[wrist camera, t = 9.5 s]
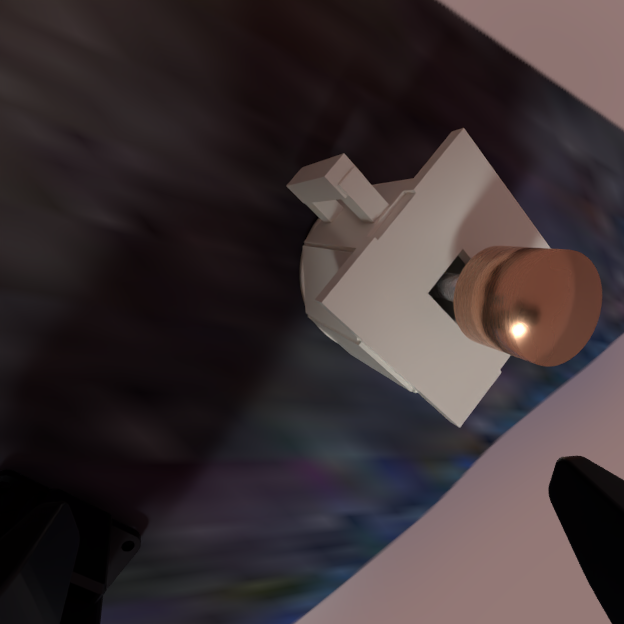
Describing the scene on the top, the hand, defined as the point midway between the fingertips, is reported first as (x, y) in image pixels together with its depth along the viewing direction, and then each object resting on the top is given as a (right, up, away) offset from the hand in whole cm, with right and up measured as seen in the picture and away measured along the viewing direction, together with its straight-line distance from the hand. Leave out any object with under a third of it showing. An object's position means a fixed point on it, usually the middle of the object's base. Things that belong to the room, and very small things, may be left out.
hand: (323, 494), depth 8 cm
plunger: (+3, +5, +12) cm, 14 cm away
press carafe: (+2, +6, +13) cm, 14 cm away
